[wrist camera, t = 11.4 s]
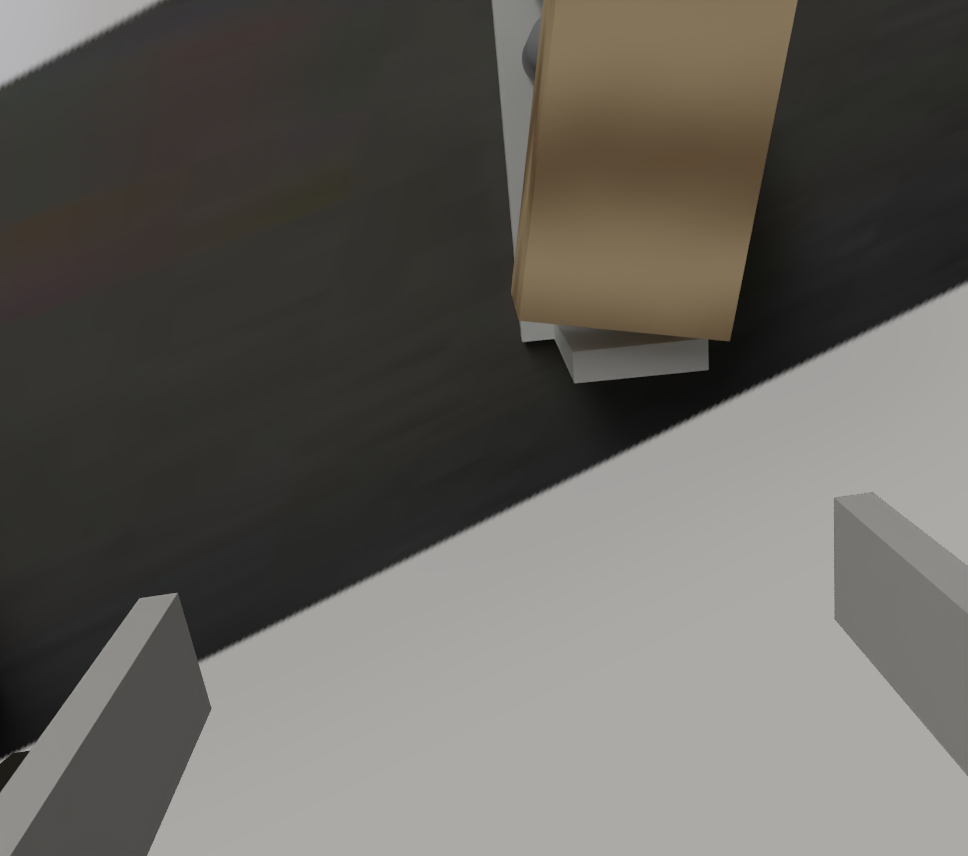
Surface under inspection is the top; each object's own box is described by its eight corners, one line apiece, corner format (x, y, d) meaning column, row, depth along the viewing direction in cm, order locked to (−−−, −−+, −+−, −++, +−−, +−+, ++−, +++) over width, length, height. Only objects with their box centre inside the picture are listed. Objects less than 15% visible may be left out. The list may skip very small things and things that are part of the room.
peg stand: (520, 337, 39) (534, 387, 30) (488, -39, 34) (493, -106, 25) (688, 320, 39) (749, 366, 30) (680, -60, 34) (750, -135, 25)
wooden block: (545, -18, 29) (563, -62, 23) (739, 5, 29) (803, -33, 23) (510, 292, 32) (518, 320, 26) (684, 309, 32) (729, 341, 27)
